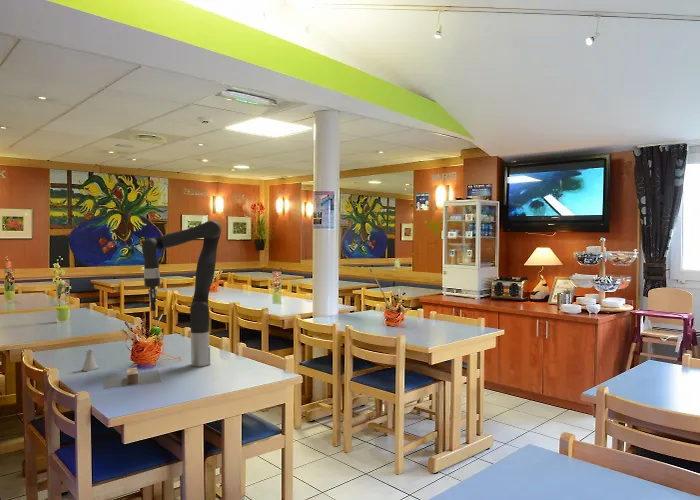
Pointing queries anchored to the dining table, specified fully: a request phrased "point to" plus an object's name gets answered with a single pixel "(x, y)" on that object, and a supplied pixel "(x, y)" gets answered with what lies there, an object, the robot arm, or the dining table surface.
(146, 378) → the rubber mat
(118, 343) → the dining table surface
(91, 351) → the flask
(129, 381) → the maple block
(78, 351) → the dining table surface
